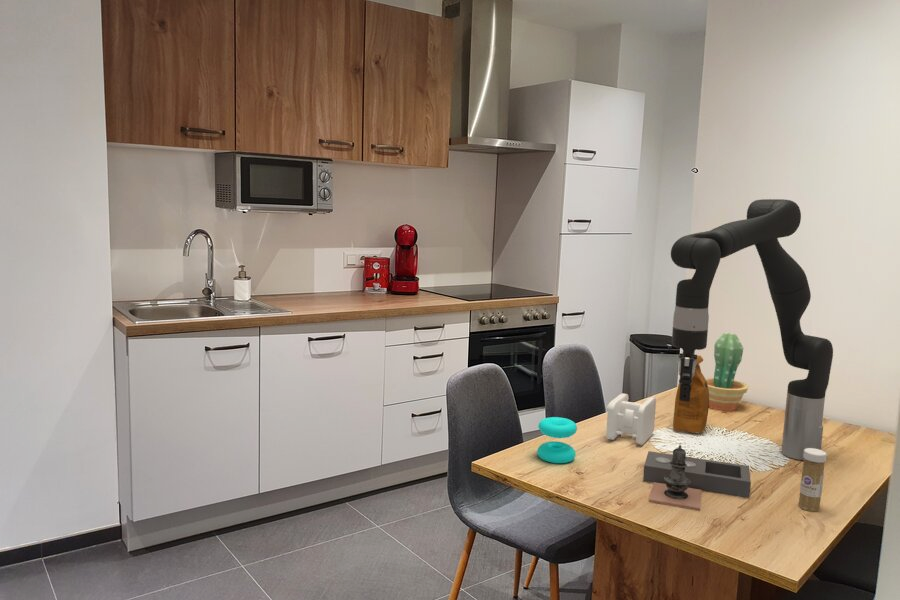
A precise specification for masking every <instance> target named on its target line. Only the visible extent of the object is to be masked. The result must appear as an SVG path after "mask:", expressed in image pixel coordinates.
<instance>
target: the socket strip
mask: <svg viewBox="0 0 900 600" xmlns="http://www.w3.org/2000/svg"><path fill="white" fill-rule="evenodd" d="M672 458H673V454H670V453H664V452H658V451H657V452H656V451H650V450H649V451H648V452H647V455H646V458H645V461H644V464H643V477H642V482H645V481H647V482H646V483H651V482H652V484H653V482H656V483H663V484H665V480H664V477H665V476H667V475H670V473H671V466H672V465H671V464H670V462H672ZM685 464H687V466H686V467H685V477H686V478H688V479H689V480H690V481H691V482H690V484H689V487H688V488H693V489H700V490H701V492H708V493H714V494H720V495H721V494H722V495H725V496H733V497H739V498H745V499H750V492H751V481H752V480H751V474H750V473H751V471H750V466H749V465H744V464H739V463H730V462H725V461H719V460H718V461H717V460H710V459H704V458H697V457H691V456H686V460H685Z"/></svg>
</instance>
